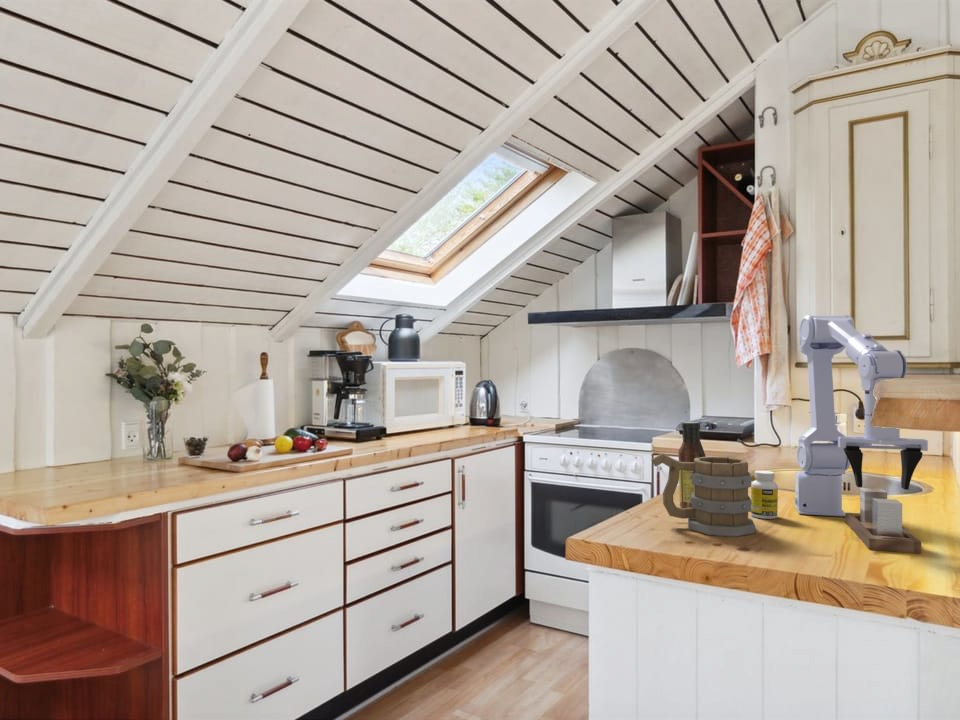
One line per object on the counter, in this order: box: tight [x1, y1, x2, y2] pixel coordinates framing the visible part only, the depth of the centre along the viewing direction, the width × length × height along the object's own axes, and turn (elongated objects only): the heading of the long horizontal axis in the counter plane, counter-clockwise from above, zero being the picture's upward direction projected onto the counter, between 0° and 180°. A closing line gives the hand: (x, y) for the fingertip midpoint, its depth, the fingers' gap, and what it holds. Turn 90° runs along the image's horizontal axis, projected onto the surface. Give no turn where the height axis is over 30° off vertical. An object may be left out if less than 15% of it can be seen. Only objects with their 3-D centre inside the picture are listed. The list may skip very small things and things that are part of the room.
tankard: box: [651, 452, 756, 538], centre depth 143 cm, size 20×13×15 cm, turn 74°
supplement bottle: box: [750, 470, 779, 520], centre depth 153 cm, size 5×5×10 cm
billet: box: [873, 498, 903, 538], centre depth 131 cm, size 4×4×8 cm
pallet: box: [845, 487, 922, 554], centre depth 136 cm, size 8×22×8 cm, turn 162°
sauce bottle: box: [678, 421, 707, 508], centre depth 161 cm, size 7×6×20 cm
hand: (881, 487), depth 131 cm, fingers open, 7 cm apart
